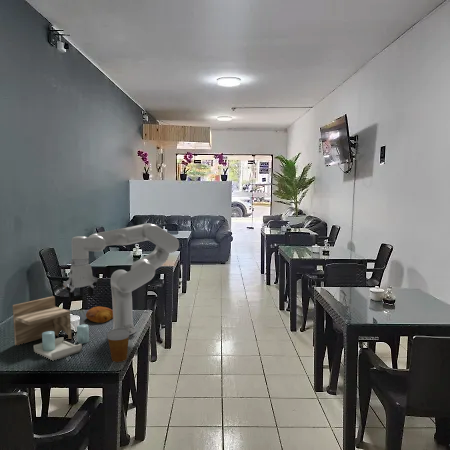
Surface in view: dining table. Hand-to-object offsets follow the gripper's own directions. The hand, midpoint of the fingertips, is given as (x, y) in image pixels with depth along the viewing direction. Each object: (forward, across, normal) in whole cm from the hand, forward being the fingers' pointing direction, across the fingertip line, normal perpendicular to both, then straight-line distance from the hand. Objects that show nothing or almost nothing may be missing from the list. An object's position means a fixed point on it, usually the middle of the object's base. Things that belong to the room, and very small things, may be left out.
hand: (81, 297), depth 204 cm
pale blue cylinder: (+20, -1, -3) cm, 21 cm away
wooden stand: (+21, -14, +11) cm, 27 cm away
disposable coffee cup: (+20, -2, -34) cm, 39 cm away
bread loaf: (+20, +23, +22) cm, 38 cm away
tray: (+21, -15, -5) cm, 26 cm away
